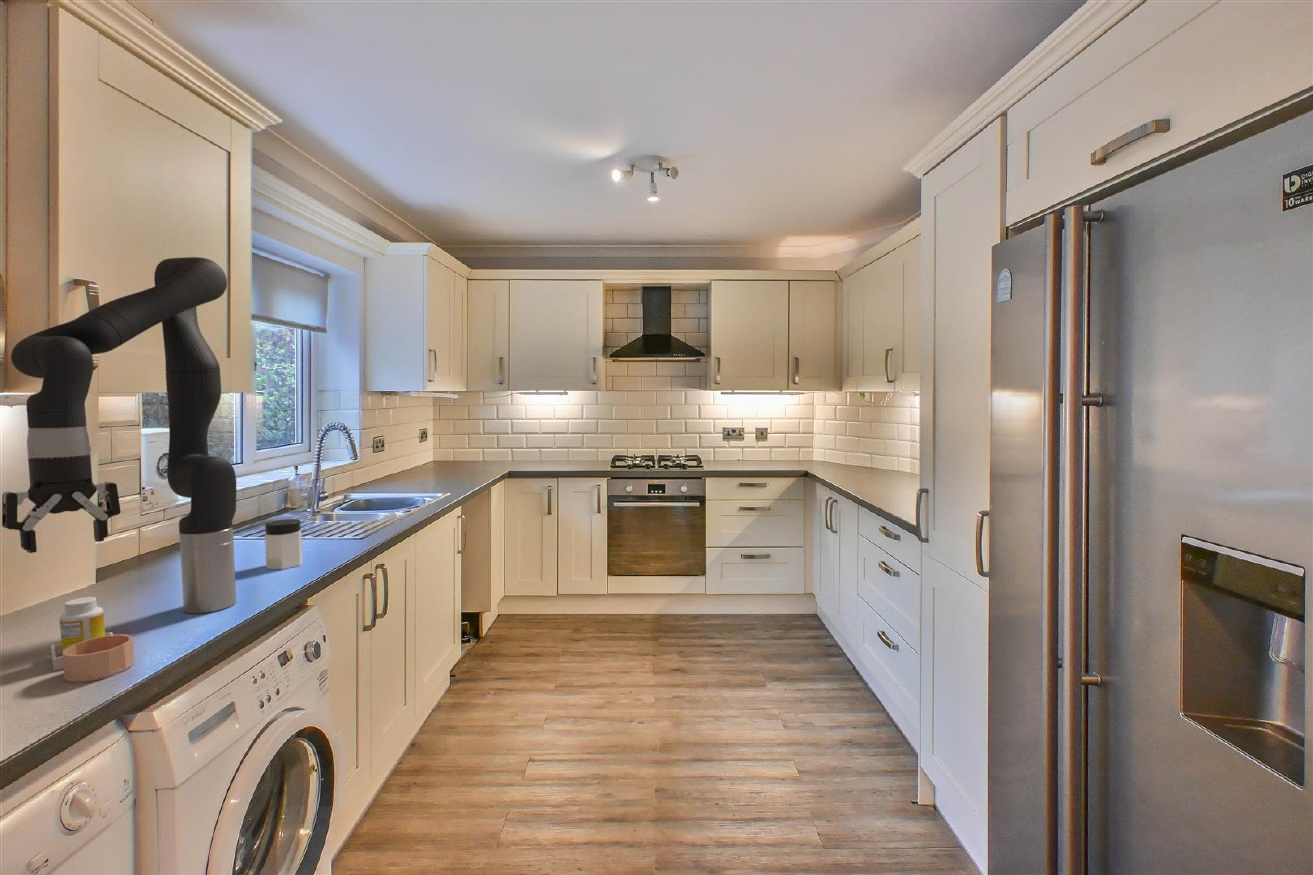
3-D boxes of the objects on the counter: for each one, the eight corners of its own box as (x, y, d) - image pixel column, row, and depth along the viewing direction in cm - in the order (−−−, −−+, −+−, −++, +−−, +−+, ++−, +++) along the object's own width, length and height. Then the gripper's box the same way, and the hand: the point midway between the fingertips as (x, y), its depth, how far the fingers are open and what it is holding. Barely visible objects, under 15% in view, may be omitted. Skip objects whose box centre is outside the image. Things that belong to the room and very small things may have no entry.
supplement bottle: (104, 646, 108) (100, 592, 107) (108, 655, 104) (104, 599, 103) (61, 656, 104) (57, 600, 103) (63, 666, 100) (59, 608, 99)
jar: (295, 559, 165) (293, 517, 164) (309, 563, 161) (307, 521, 160) (259, 566, 158) (257, 523, 157) (273, 571, 153) (271, 527, 152)
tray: (51, 656, 104) (50, 645, 103) (112, 642, 109) (112, 631, 109) (53, 671, 98) (52, 659, 98) (117, 655, 104) (117, 644, 104)
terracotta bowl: (88, 661, 102) (86, 636, 101) (145, 656, 104) (143, 632, 103) (50, 685, 93) (48, 658, 93) (113, 679, 95) (111, 652, 95)
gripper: (105, 449, 108) (111, 535, 109) (-9, 456, 96) (-1, 553, 97) (122, 451, 104) (128, 540, 105) (5, 458, 92) (13, 559, 93)
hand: (66, 546), depth 101 cm, fingers open, 8 cm apart
